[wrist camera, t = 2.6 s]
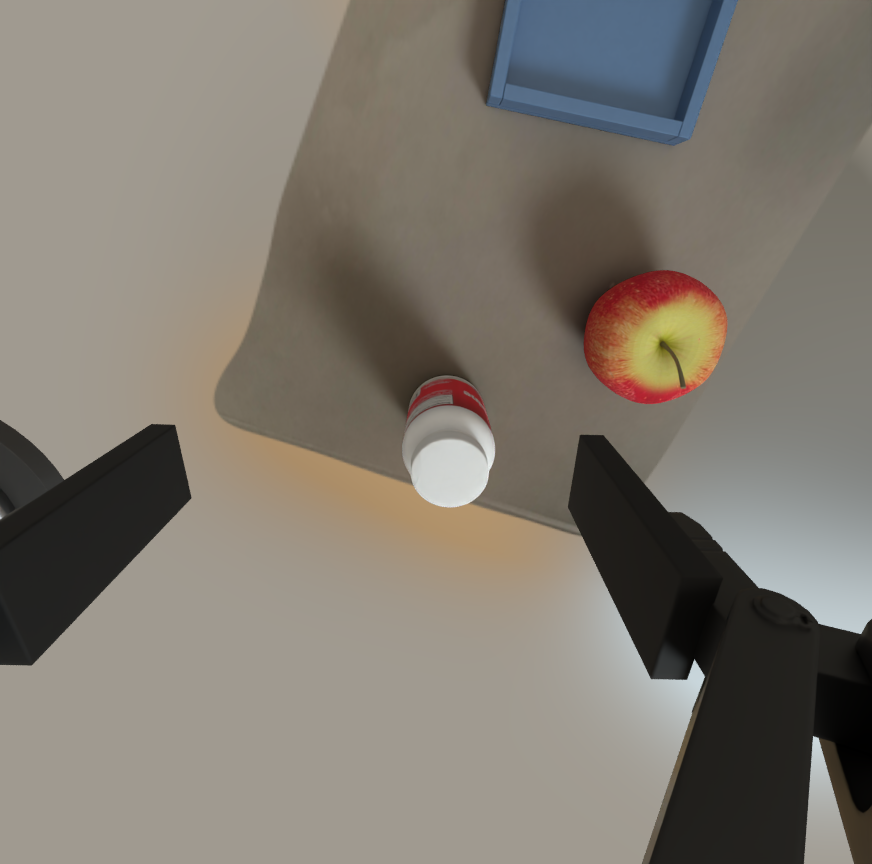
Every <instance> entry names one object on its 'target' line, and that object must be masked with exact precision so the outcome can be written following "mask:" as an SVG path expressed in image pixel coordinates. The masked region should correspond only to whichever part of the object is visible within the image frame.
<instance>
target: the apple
mask: <svg viewBox="0 0 872 864" xmlns="http://www.w3.org/2000/svg"><path fill="white" fill-rule="evenodd" d="M726 332H727V317H726V313H725V310H724V307H723V305H722V303H721V302H720V300H719V299H718V298H717V296H716V295H715V294H714V293H713V292H712V291H711V290H710V289H709V288H708V287H707V286H705V285H704V284H703V283H701V282H700V281H698V280H696V279H694V278H692V277H690V276H688V275H686V274H683V273H680V272H675V271H668V270H662V271H652V272H647V273H643V274H640V275H637V276H634V277H632V278H629V279H627V280H625V281H623V282H621V283H619V284H617V285H616V286H614V287H612V288H611V289H609V290H608V291H607V292H606V293H604V294H603V295H602V296H601V297H600V298H599V299H598V300H597V301H596V303H595V304H594V306H593V308H592V310H591V312H590V314H589V317H588V320H587V324H586V328H585V335H584V353H585V358H586V361H587V363H588V366H589V367H590V369H591V370H592V372H593V373H594V374H595V376H596V377H597V378H598V379H599V380H600V381H601V382H602V383H603V384H604V385H605V386H607V387H608V388H609V389H610V390H612V391H613V392H615V393H616V394H618V395H620V396H622V397H624V398H626V399H628V400H631V401H633V402H637V403H643V404H655V403H661V402H666V401H669V400H672V399H675V398H678V397H680V396H682V395H684V394H686V393H688V392H690V391H692V390H693V389H695V388H696V387H698V386H699V385H701V384H702V383H703V382H704V381H705V380H706V379H707V378H708V377H709V376H710V374H711V373H712V371H713V370H714V368H715V366H716V364H717V362H718V360H719V357H720V355H721V352H722V349H723V346H724V342H725V338H726Z"/></svg>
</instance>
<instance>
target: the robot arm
mask: <svg viewBox="0 0 872 864" xmlns="http://www.w3.org/2000/svg"><path fill="white" fill-rule="evenodd" d="M190 499H191V494H190V490H189V486H188V480H187V476H186V471H185V467H184V463H183V458H182V454H181V449H180V445H179V440H178V436H177V431H176V427H175V425H161V424H151V425H149V426H148V427H146V428H145V429H143V430H142V431H140V432H139V433H137V434H135V435H134V436H132V437H131V438H129V439H128V440H126V441H125V442H123V443H122V444H120V445H118V446H117V447H115V448H114V449H112V450H111V451H109V452H108V453H106V454H104V455H103V456H101V457H100V458H98V459H97V460H95V461H93V462H92V463H90V464H89V465H87V466H86V467H84V468H83V469H81V470H80V471H78V472H76V473H75V474H74V475H72V476H70V477H69V478H67V479H66V480H64V481H62V482H61V483H59V484H58V485H56V486H55V487H53V488H52V489H50V490H48V491H47V492H45V493H44V494H42V495H41V496H39V497H38V498H36V499H35V500H33V501H31V502H30V503H28V504H27V505H25V506H22V507H20V508H18V509H15V507H14V506H13V504H12V503H11V501H10V499H9V498H8V497H7V495H6V494H5V493H4V492H3V491H2V489H1V488H0V665H33V663H34V662H35V661H36V660H37V659H38V658H39V657H40V656H41V655H42V654H43V653H44V652H45V651H46V650H47V649H48V648H49V647H50V646H51V644H53V643H54V642H55V641H56V639H57V638H58V637H59V636H60V635H61V634H62V633H63V632H64V631H65V630H66V629H67V628H68V627H69V626H70V624H72V623H73V622H74V621H75V620H76V618H77V617H78V616H79V615H80V614H81V613H82V612H83V611H84V610H85V609H86V608H87V607H88V606H89V605H90V604H91V603H92V602H93V601H94V600H95V598H97V597H98V595H99V594H100V593H101V592H102V591H103V590H104V589H105V588H106V587H107V586H108V585H109V584H110V583H111V582H112V581H113V580H114V579H115V578H116V577H117V576H118V574H119V573H120V572H121V571H122V570H123V569H124V568H125V567H126V566H127V565H128V564H129V563H130V562H131V561H132V560H133V559H134V558H135V557H136V556H137V555H138V554H139V553H140V551H141V550H142V549H143V548H144V547H145V546H146V545H147V544H148V543H149V542H150V541H151V540H152V539H153V538H154V537H155V536H156V535H157V534H158V533H159V532H160V530H161V529H162V528H163V527H164V526H165V525H166V524H167V523H168V522H169V521H170V520H171V519H172V518H173V517H174V516H175V515H176V514H177V513H178V511H180V509H181V508H182V507H183V506H184V505H185V504H186V503H187V502H188V501H189V500H190ZM568 508H569V510H570V512H571V514H572V516H573V518H574V521H575V523H576V525H577V527H578V529H579V531H580V533H581V535H582V537H583V539H584V541H585V543H586V545H587V547H588V549H589V552H590V554H591V556H592V558H593V560H594V562H595V564H596V566H597V568H598V570H599V572H600V574H601V576H602V578H603V581H604V583H605V585H606V587H607V588H608V591H609V593H610V595H611V597H612V599H613V601H614V603H615V605H616V607H617V609H618V612H619V614H620V616H621V617H622V620H623V622H624V624H625V626H626V628H627V630H628V632H629V634H630V636H631V638H632V640H633V643H634V644H635V647H636V649H637V651H638V653H639V655H640V657H641V659H642V661H643V663H644V665H645V667H646V669H647V672H648V674H649V676H650V678H651V679H676V680H680V679H681V680H687V678H688V675H689V673H690V670H691V667H692V664H693V661H694V659H695V661H696V662H697V664H698V665H699V667H700V669H701V670H702V672H703V674H704V675H705V678H704V681H703V684H702V686H701V689H700V692H699V694H698V697H697V699H696V702H695V705H694V707H693V710H692V716H691V719H690V722H689V725H688V728H687V731H686V734H685V737H684V740H683V743H682V746H681V749H680V752H679V755H678V758H677V761H676V764H675V767H674V769H673V772H672V775H671V778H670V781H669V784H668V787H667V790H666V793H665V796H664V799H663V802H662V805H661V808H660V811H659V814H658V817H657V820H656V823H655V826H654V829H653V832H652V835H651V838H650V841H649V844H648V847H647V850H646V853H645V856H644V859H643V862H642V864H804V853H805V839H806V838H805V837H806V825H807V811H808V797H809V782H810V768H811V756H812V742H813V736H814V737H818V738H819V740H820V744H821V748H822V751H823V755H824V758H825V762H826V765H827V769H828V772H829V776H830V780H831V783H832V787H833V790H834V794H835V797H836V801H837V804H838V808H839V812H840V815H841V819H842V822H843V826H844V829H845V833H846V836H847V840H848V843H849V847H850V851H851V854H852V858H853V861H854V864H872V619H871V620H870V621H869V622H868V623H867V625H866V627H865V628H864V630H863V632H862V634H858V633H853V632H850V631H846V630H841V629H837V628H833V627H829V626H825V625H821V624H818V622H817V620H816V619H815V618H814V617H813V616H812V614H811V613H810V612H809V611H808V610H807V609H805V608H804V607H802V606H801V605H800V604H798V603H797V602H795V601H794V600H792V599H790V598H788V597H785V596H784V595H782V594H779V593H776V592H773V591H770V590H767V589H762V588H758V587H757V586H756V584H755V583H753V581H752V580H751V579H750V578H749V577H748V576H747V575H746V574H745V572H744V571H743V570H742V569H741V568H740V567H739V566H738V565H737V564H736V563H735V562H734V561H733V560H732V558H731V557H730V556H729V555H728V554H727V553H726V552H723V549H722V547H721V546H720V545H719V544H718V543H717V542H716V541H715V540H713V539H712V537H711V535H710V534H709V533H708V532H707V531H706V530H705V529H704V528H703V527H702V526H701V525H700V524H699V523H697V522H696V521H694V520H693V519H691V518H690V517H688V516H686V515H685V514H683V513H681V512H667V510H666V509H665V508H664V507H663V506H662V504H661V503H660V502H659V501H658V500H657V499H656V497H655V496H654V495H653V494H652V492H651V491H650V490H649V489H648V488H647V487H646V485H645V484H644V483H643V482H642V481H641V479H640V478H639V477H638V476H637V475H636V473H635V472H634V471H633V470H632V469H631V467H630V466H629V465H628V464H627V463H626V462H625V460H624V459H623V458H622V457H621V456H620V454H619V453H618V452H617V451H616V450H615V448H614V447H613V446H612V445H611V444H610V443H609V441H608V440H607V439H606V438H605V437H604V435H580V438H579V444H578V450H577V456H576V462H575V468H574V474H573V480H572V486H571V492H570V498H569V504H568Z"/></svg>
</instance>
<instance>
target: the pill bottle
mask: <svg viewBox="0 0 872 864" xmlns="http://www.w3.org/2000/svg"><path fill="white" fill-rule="evenodd" d="M402 455H403V460H404V463H405V466H406V468H407V470H408V472H409V473H410V475H411V480H412V483H413V486H414V487H415V489H416V491H417V492H418V493H419V494H420V495H421V496H422V497H423V498H424V499H425V500H427V501H428V502H430V503H432V504H434V505H438V506H442V507H458V506H462V505H465V504H467V503H469V502H471V501H473V500H474V499H476V498H477V497H478V496H479V495H480V494H481V493H482V491H483V490H484V488H485V486H486V484H487V481H488V476H489V470H490V469H491V467H492V464H493V461H494V456H495V443H494V438H493V434H492V431H491V427H490V423H489V420H488V416H487V413H486V409H485V406H484V403H483V400H482V397H481V395H480V394H479V392H478V390H477V389H476V388H475V387H474V386H473V385H472V384H471V383H469V382H468V381H466V380H464V379H462V378H459V377H456V376H448V375H445V376H438V377H434V378H432V379H429V380H428V381H426V382H424V383H423V384H422V385H421V386H420V387H419V388H418V389H417V390H416V391H415V393H414V394H413V396H412V399H411V401H410V405H409V409H408V415H407V421H406V426H405V432H404V437H403V442H402Z"/></svg>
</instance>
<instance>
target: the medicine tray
mask: <svg viewBox="0 0 872 864" xmlns="http://www.w3.org/2000/svg"><path fill="white" fill-rule="evenodd" d="M737 1H738V0H505V4H504V9H503V15H502V20H501V26H500V31H499V37H498V42H497V48H496V53H495V59H494V64H493V70H492V75H491V80H490V86H489V91H488V97H487V102H486V105H487V106H491V107H496V108H500V109H505V110H510V111H514V112H519V113H524V114H528V115H533V116H538V117H543V118H547V119H552V120H557V121H561V122H566V123H571V124H575V125H580V126H585V127H589V128H594V129H599V130H603V131H608V132H613V133H617V134H622V135H627V136H631V137H636V138H641V139H645V140H650V141H655V142H659V143H664V144H669V145H673V146H674V145H676V144H679V143H681V142H684V141H686V140H689V139H690V138H691V136H692V133H693V130H694V127H695V124H696V121H697V118H698V115H699V112H700V109H701V106H702V104H703V101H704V98H705V95H706V92H707V89H708V86H709V83H710V80H711V77H712V74H713V71H714V68H715V66H716V63H717V60H718V57H719V54H720V51H721V48H722V45H723V42H724V39H725V36H726V33H727V30H728V28H729V25H730V22H731V19H732V16H733V13H734V10H735V7H736V4H737Z"/></svg>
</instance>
